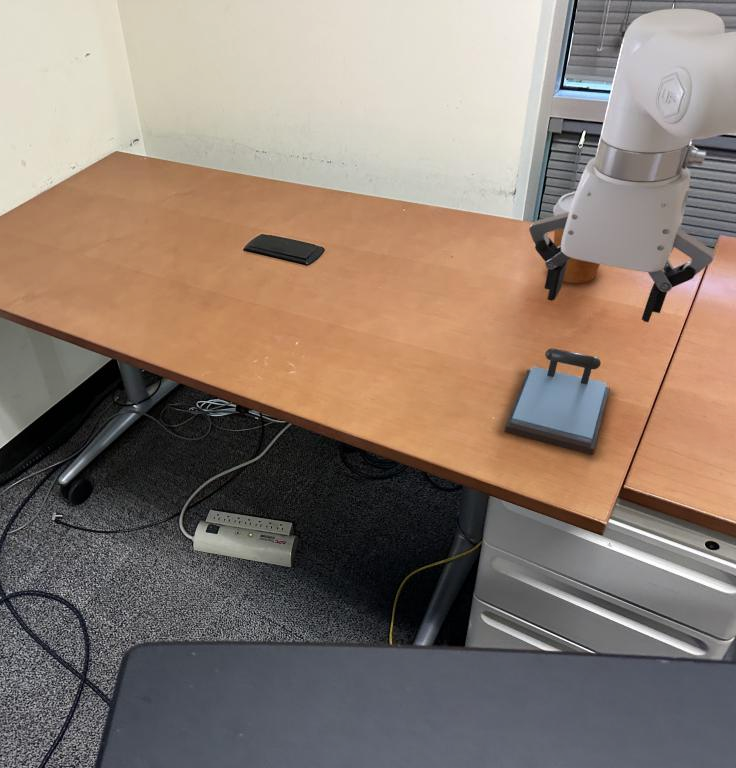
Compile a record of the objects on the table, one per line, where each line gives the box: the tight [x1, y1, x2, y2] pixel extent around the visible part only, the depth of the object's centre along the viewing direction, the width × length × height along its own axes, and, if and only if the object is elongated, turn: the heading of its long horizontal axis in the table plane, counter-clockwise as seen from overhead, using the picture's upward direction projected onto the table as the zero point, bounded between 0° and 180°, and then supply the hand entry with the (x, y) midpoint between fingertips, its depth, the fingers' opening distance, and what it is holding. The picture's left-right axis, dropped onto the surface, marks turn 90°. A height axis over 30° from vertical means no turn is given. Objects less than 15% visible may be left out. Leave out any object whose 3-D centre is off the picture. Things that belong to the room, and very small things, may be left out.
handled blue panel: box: [512, 347, 608, 440], centre depth 85 cm, size 11×9×5 cm
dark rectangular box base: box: [504, 369, 611, 456], centre depth 86 cm, size 12×10×2 cm
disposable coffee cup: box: [552, 191, 601, 284], centre depth 106 cm, size 10×10×12 cm
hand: (599, 304), depth 77 cm, fingers open, 9 cm apart
